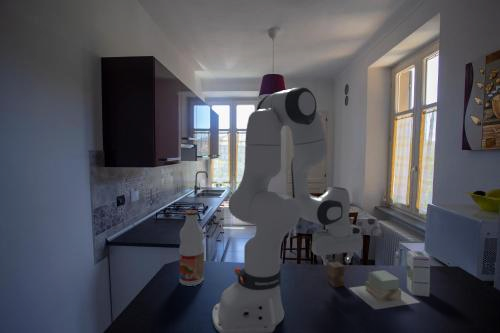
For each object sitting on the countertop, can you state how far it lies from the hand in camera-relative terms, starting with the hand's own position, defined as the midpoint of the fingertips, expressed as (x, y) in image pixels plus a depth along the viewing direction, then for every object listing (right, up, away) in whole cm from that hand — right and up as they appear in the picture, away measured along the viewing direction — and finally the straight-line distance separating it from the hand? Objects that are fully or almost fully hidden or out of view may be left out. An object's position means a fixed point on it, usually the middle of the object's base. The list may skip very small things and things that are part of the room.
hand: (337, 263), depth 101 cm
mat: (+14, -9, -8) cm, 18 cm away
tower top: (+14, -5, -8) cm, 17 cm away
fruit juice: (-57, -8, +2) cm, 57 cm away
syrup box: (+27, -9, -6) cm, 29 cm away
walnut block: (-1, -8, 0) cm, 8 cm away
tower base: (+14, -8, -8) cm, 18 cm away
